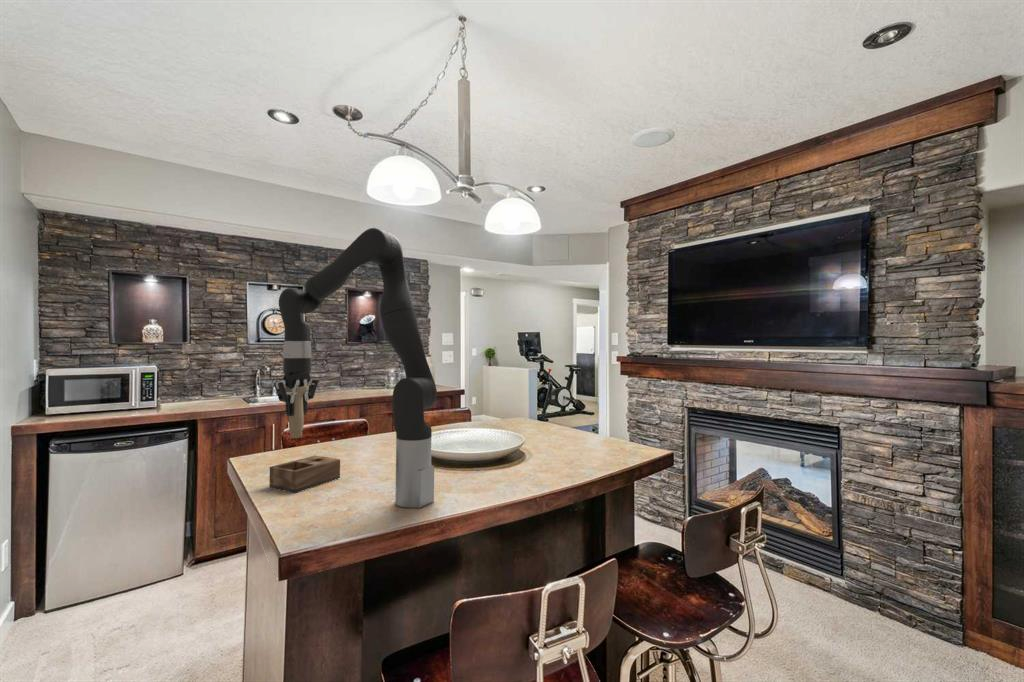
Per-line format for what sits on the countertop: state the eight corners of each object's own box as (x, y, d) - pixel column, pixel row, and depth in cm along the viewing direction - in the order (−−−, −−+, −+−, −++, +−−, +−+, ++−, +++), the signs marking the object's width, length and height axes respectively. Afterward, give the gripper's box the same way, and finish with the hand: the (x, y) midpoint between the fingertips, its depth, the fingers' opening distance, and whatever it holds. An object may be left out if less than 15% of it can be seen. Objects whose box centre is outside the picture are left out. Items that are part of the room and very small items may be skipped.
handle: (306, 438, 132) (307, 386, 132) (282, 439, 130) (283, 387, 130) (308, 435, 136) (309, 385, 136) (285, 436, 134) (286, 386, 134)
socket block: (339, 478, 141) (340, 459, 141) (295, 493, 126) (295, 471, 127) (314, 474, 146) (315, 455, 146) (269, 487, 131) (269, 466, 131)
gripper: (284, 357, 125) (283, 419, 125) (325, 356, 138) (325, 412, 138) (266, 356, 129) (265, 417, 128) (308, 356, 141) (307, 411, 141)
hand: (296, 414), depth 133 cm, fingers closed on handle, 3 cm apart
